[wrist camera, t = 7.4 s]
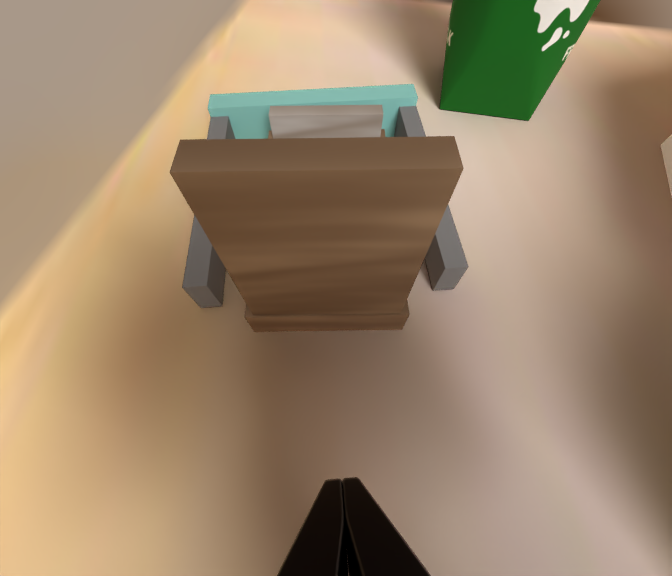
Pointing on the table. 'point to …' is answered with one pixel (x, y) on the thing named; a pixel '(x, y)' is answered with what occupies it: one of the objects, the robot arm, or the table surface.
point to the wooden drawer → (321, 215)
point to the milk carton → (508, 53)
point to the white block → (668, 159)
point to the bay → (253, 123)
